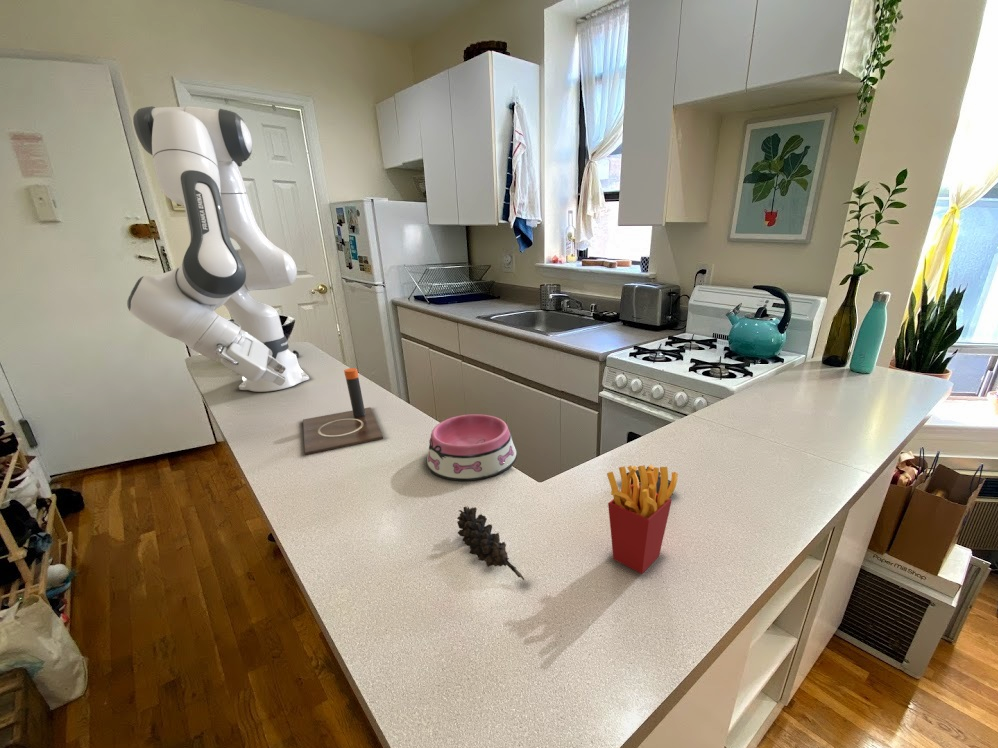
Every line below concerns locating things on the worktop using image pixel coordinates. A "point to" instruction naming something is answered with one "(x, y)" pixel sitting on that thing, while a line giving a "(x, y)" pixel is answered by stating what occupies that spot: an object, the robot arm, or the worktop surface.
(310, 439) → the drawing board
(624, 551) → the french fries
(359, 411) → the marker
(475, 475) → the dog bowl
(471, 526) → the pine cone
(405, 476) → the worktop surface
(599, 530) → the worktop surface
